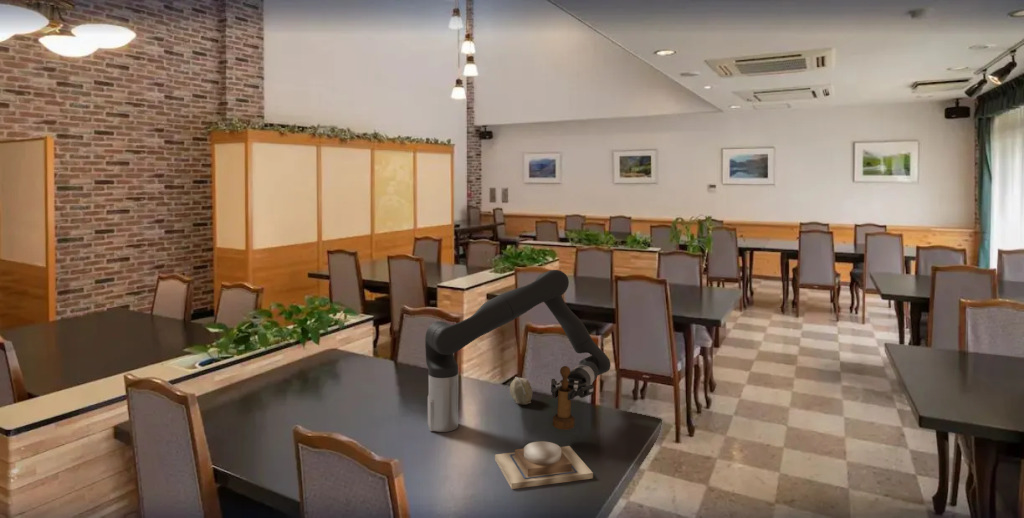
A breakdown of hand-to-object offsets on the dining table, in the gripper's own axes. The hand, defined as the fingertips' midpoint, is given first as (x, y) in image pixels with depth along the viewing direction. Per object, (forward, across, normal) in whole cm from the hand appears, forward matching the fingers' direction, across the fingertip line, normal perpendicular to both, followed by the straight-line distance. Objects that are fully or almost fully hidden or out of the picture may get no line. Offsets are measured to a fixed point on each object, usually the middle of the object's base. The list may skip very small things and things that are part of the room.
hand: (561, 395), depth 177 cm
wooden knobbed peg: (-3, 0, +10) cm, 11 cm away
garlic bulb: (-28, -24, +16) cm, 40 cm away
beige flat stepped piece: (+16, +1, +15) cm, 22 cm away
